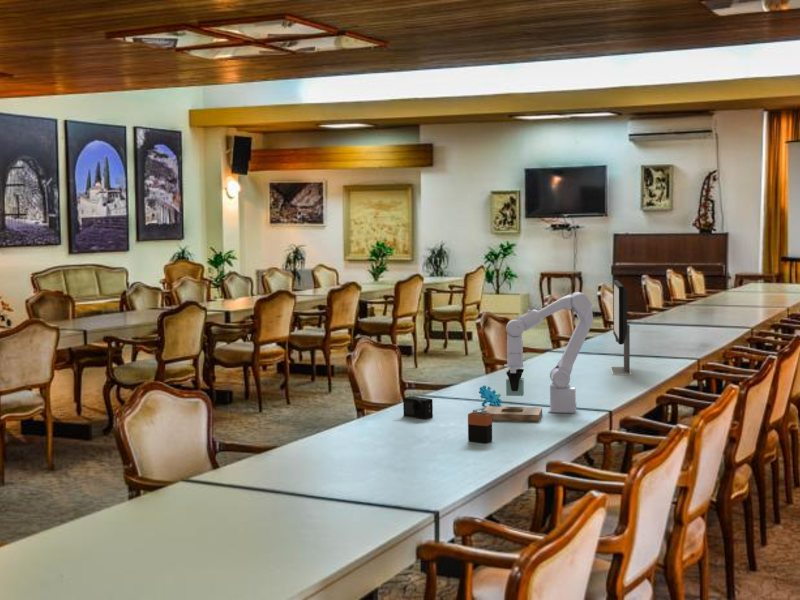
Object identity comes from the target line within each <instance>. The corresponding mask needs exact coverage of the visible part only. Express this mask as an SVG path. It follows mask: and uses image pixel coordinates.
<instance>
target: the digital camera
mask: <svg viewBox="0 0 800 600" xmlns="http://www.w3.org/2000/svg"><path fill="white" fill-rule="evenodd" d="M402 400H403V401H402V402H403V403H402V404H403V405H402V406H403V417H405V418H411V419H412V418H413V419H417V420H418V419H419V420H429V419H433V417H434V415H433V398H428V397H427V398H426V397H420V396H412V395H410V396H406V397H405V396H404V397H403V399H402Z"/></svg>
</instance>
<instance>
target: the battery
mask: <svg viewBox="0 0 800 600" xmlns="http://www.w3.org/2000/svg"><path fill="white" fill-rule="evenodd" d="M487 412H488V411H486V410H485V409H484V410H481V411H478V410H477V409H473V410H472V412H470V413H468V414H467V440H468V442H470V443H478V444H479V443H480V444H488V443H490V442H492V441H493V421H492V414H491V413H487Z"/></svg>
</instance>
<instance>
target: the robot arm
mask: <svg viewBox="0 0 800 600" xmlns="http://www.w3.org/2000/svg"><path fill="white" fill-rule="evenodd" d="M592 307H593V305H592V302H591V300H590V299H589V296H587V294H584V293H582V292H581V291H575V292H572V293H570V294H567V295H565V296H562V297H560V298H558V299H557V300H556V301H555V300H554V301H553V302H552V303H550V304H548V305H546V306H544V307H543V308H540V309H539V310H537V309H534V308H533V309H528V310H527V312H526V313H524V314H522V315H520V316H515V319H511V320H509V321H508V322H507V324H506V326H505V330H506V333H507V335H506V338H507V340H506V359H507V361H506V364H503V367H505V368H508V370H507V371H506V373H505V375H506V376H507V378H509V381H510V385H511V390H512V391H518V387H519V380H520V378H522V375H523V373H524V371H525V369H524V348H523V347H524V345H523V344H524V343H523V341H524V340H523V333H524V332H526V331H529V330H531V329H532V328H534V327H537V326H540V325H541V324H542V322H543V319H544V318H546V317H549V316H550V315H553V314H555V313H558V312H559V311H561V310H574V312H575V315H576V317H577V319H578V321H577V323H576V326H575V328H574V330H573V332H572V334H571V336H570V338H569V340H568V342H567V345H566V347H565V349H564V350H563V351H564V352H563V354H562V355H561V357H560V359H559V360H558V362H557V363H556V365H555V367H553V368H552V369H551V371H550V373H549V378H550V380H551V381H552V382H551V384H550V385H549V395H550V396H549V404H550V405H549V406H550V407H549V409H548V413H558V414H559V413H562V414H563V413H567V414H569V413H570V414H575V413H576V410H577V402H576V399H577V397H576V396H577V394H576V392H577V391H576V387H574V386H573V387H572V386H571V385H570V382H571V374H572V371H573V367H574V363H575V362H576V359H577V357H578V356H579V354H580V351H581V349H582V346H583V344H584V342H585V340H586V338H587V336H588V334H589V332H590V330H591V327H592V325H593V322H594V316H593V308H592Z"/></svg>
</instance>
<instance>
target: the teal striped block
mask: <svg viewBox="0 0 800 600" xmlns="http://www.w3.org/2000/svg"><path fill="white" fill-rule="evenodd" d="M524 378H525V377H521V378H520V380H519V387H518V391H512V390H511V385H510V381H509V378H508V377H507V378H506V379H505V386H506V387H505V389H506V391H505V392H506V396H508V397H523V396H524V395H525V379H524Z"/></svg>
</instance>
